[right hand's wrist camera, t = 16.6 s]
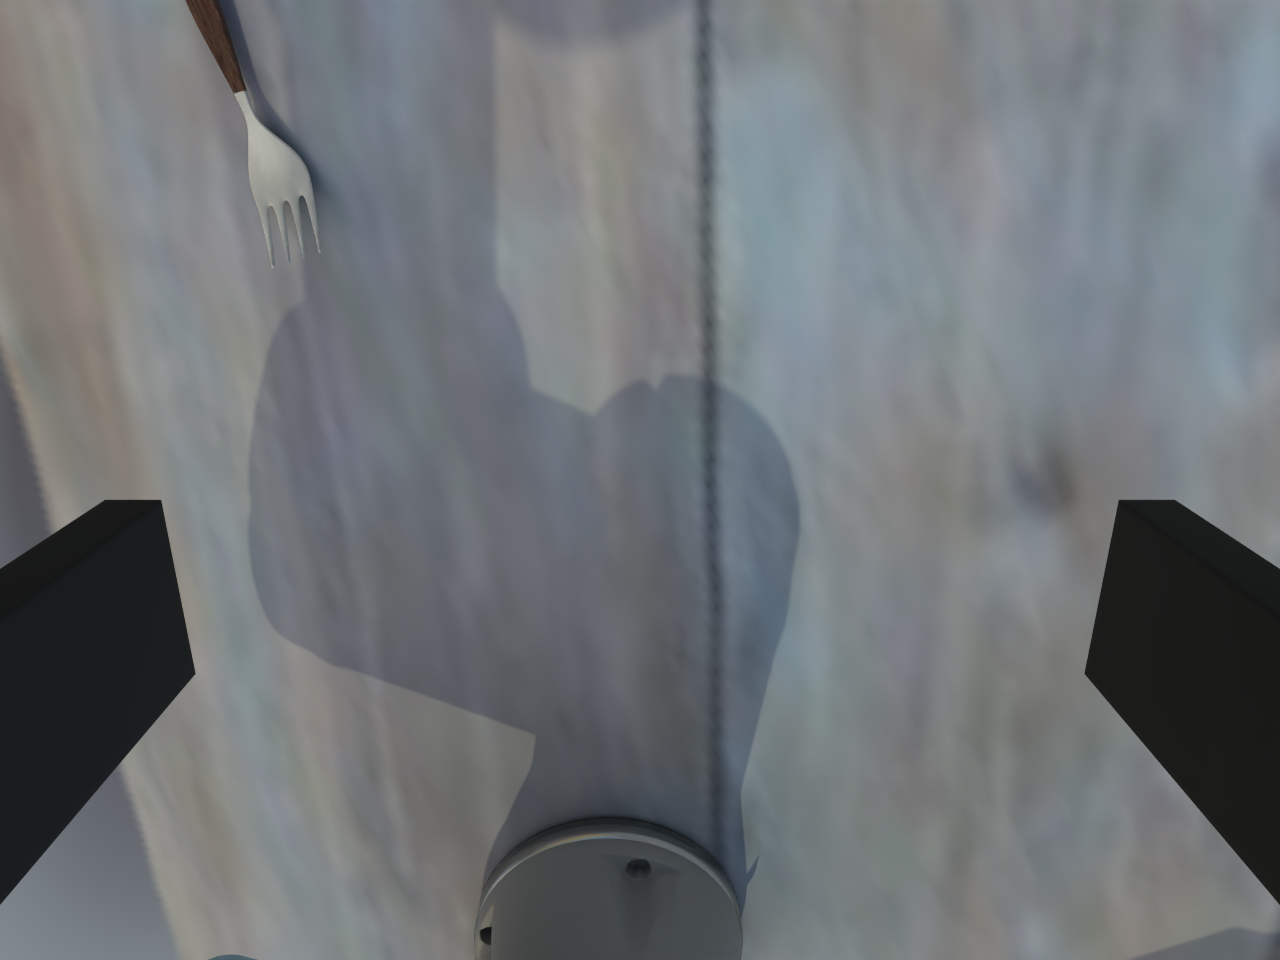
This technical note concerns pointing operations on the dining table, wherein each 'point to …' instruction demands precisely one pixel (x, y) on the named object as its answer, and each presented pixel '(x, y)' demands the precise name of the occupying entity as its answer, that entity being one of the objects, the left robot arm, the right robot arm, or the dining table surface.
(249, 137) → the fork
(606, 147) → the dining table surface
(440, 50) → the dining table surface
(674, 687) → the dining table surface
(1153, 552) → the right robot arm
